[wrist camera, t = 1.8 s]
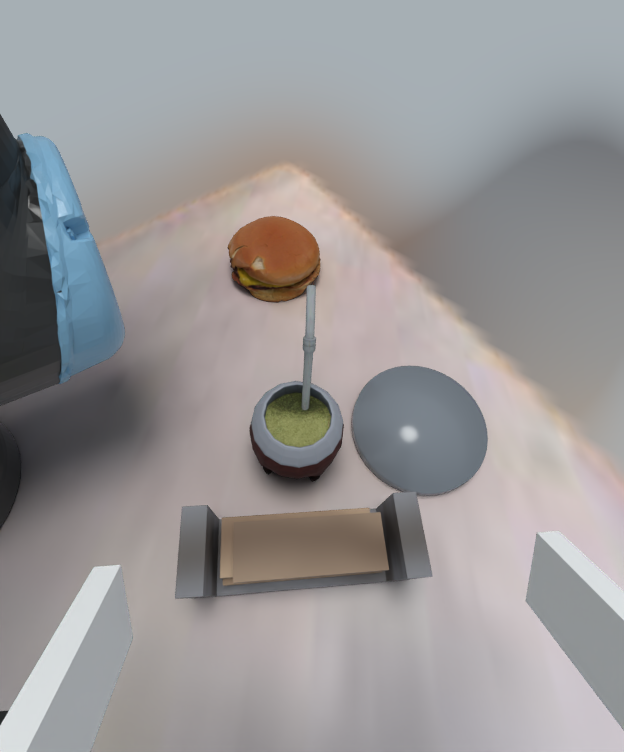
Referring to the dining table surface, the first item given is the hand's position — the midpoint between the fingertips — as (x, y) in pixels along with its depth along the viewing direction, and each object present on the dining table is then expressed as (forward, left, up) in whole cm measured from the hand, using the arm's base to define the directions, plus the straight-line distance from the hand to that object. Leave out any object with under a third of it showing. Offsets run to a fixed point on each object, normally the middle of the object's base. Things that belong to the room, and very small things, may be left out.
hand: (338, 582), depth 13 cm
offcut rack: (-2, +2, -19) cm, 20 cm away
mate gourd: (-7, +8, -20) cm, 23 cm away
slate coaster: (+1, +16, -19) cm, 25 cm away
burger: (-21, +24, -20) cm, 37 cm away
